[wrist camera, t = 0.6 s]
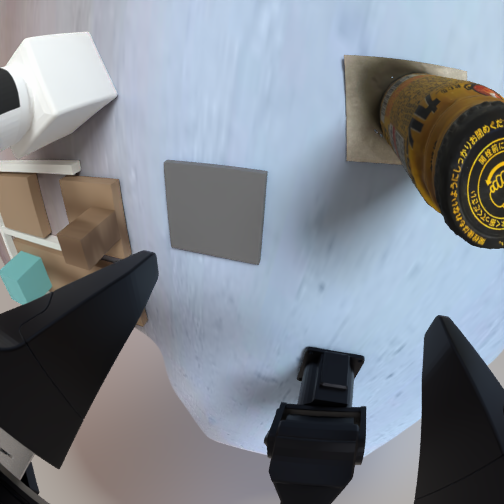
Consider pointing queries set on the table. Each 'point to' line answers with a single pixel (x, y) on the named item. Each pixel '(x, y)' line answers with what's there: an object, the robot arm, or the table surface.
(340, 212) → the table surface
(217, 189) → the coaster
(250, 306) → the table surface
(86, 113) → the medicine bottle
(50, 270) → the strip
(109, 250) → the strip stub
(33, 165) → the board
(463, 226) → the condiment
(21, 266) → the cube
